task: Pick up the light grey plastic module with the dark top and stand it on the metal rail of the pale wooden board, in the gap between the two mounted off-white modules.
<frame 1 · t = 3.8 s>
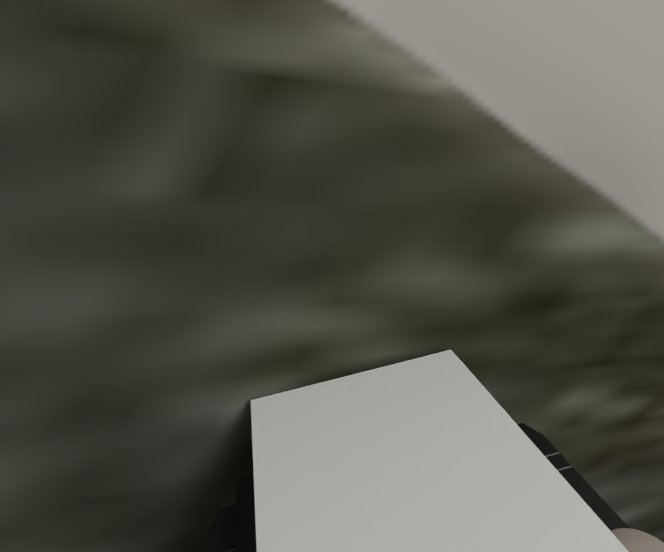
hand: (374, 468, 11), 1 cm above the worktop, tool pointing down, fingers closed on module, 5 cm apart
module: (363, 438, 12), on the worktop, touching gripper
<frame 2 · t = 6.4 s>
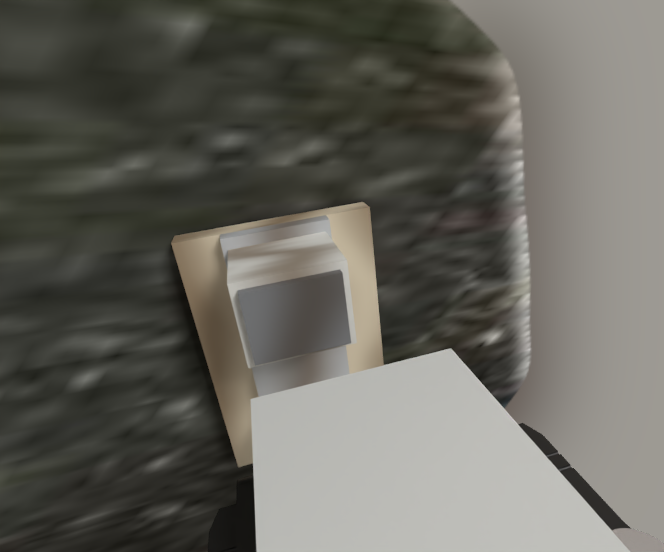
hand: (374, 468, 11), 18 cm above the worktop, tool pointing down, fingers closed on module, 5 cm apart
module: (363, 436, 12), point 17 cm above the worktop, touching gripper
rail board: (294, 338, 30), on the worktop
when the fingers open (5 cm above the worktop, at t = 9.3 s): module drops 1 cm, resting on rail board.
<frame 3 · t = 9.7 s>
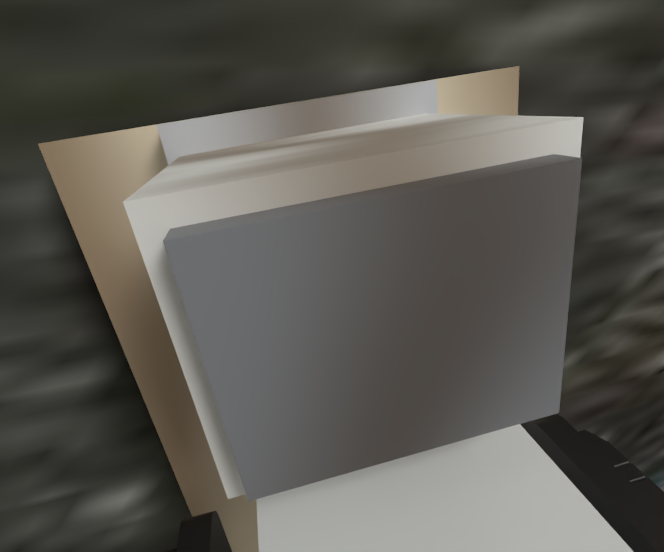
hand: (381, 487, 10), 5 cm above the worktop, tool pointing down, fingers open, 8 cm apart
module: (355, 411, 13), point 2 cm above the worktop, touching rail board
rail board: (336, 367, 15), on the worktop
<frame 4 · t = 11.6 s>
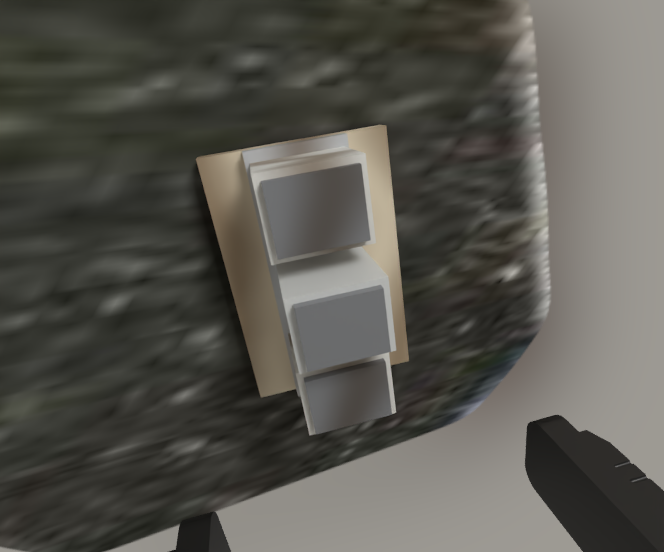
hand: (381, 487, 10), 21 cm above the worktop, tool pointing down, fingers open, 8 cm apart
module: (320, 278, 28), point 2 cm above the worktop, touching rail board
rail board: (314, 267, 31), on the worktop
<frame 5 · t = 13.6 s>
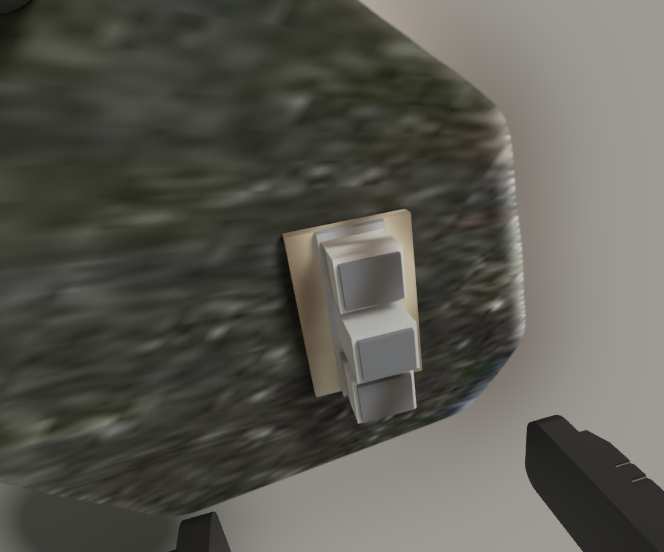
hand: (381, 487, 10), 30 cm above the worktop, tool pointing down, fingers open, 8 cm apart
module: (363, 315, 41), point 2 cm above the worktop, touching rail board
rail board: (356, 304, 43), on the worktop
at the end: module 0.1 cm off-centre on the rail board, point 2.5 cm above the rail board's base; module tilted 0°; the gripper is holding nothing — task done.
